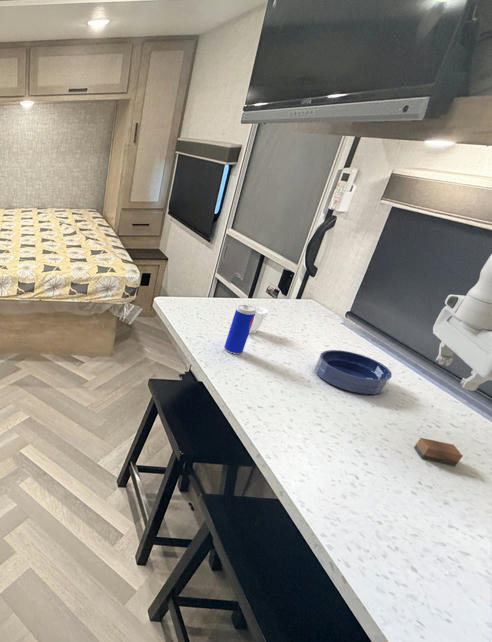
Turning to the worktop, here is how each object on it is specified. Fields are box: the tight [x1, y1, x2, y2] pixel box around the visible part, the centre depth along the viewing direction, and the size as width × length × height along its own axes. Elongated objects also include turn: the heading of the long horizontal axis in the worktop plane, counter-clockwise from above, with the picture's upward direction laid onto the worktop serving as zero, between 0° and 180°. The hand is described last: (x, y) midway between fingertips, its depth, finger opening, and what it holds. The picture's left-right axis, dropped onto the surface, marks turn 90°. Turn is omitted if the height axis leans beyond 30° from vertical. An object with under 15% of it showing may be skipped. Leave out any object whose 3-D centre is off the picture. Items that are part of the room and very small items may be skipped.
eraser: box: [413, 437, 463, 467], centre depth 85 cm, size 6×4×3 cm, turn 66°
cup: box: [248, 304, 269, 334], centre depth 134 cm, size 7×10×8 cm
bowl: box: [314, 349, 393, 395], centre depth 110 cm, size 15×15×5 cm
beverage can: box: [224, 304, 256, 355], centre depth 122 cm, size 5×5×15 cm
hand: (453, 375), depth 80 cm, fingers open, 8 cm apart
